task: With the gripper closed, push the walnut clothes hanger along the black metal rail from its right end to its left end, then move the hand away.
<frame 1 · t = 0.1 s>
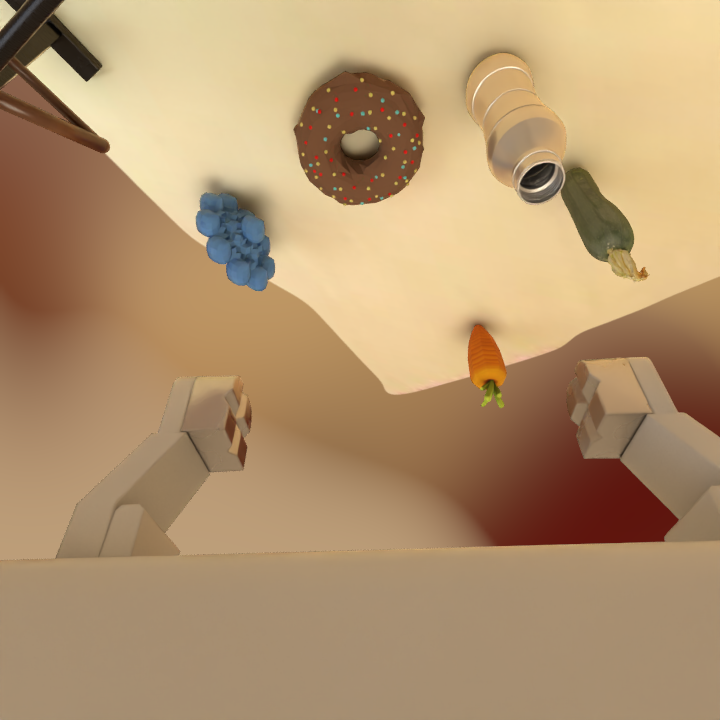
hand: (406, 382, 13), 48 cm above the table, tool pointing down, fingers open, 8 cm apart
donut: (360, 129, 56), on the table
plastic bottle: (493, 81, 52), on the table
grapes: (250, 207, 63), on the table
vegetable: (569, 167, 59), on the table
carrot: (477, 324, 78), on the table
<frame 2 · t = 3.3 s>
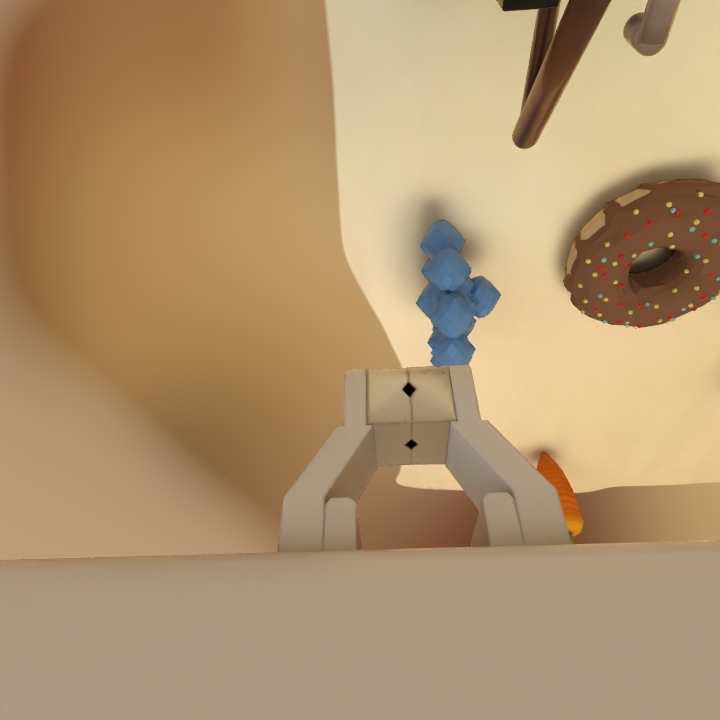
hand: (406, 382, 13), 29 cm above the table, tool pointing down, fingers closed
donut: (644, 237, 44), on the table
grapes: (449, 253, 45), on the table
carrot: (542, 452, 70), on the table
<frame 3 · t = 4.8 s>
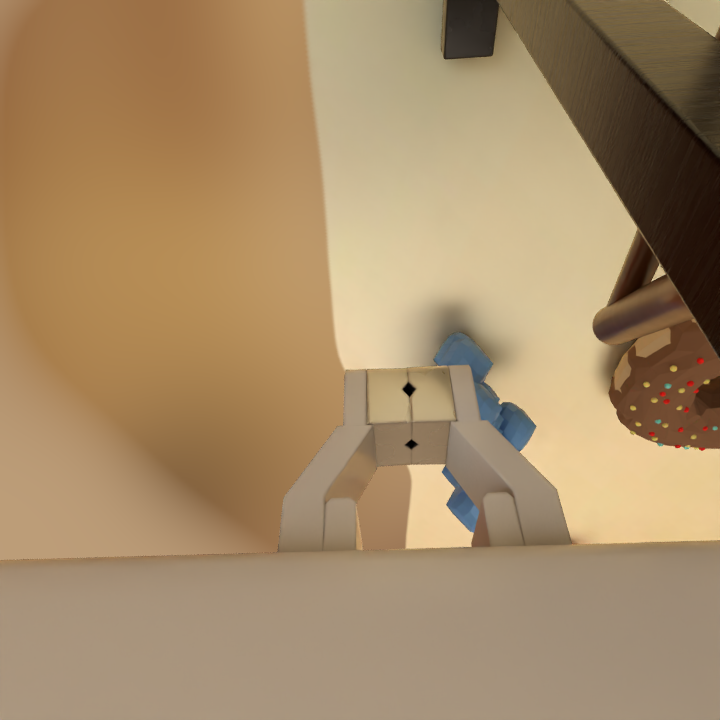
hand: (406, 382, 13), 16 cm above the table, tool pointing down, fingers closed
donut: (710, 343, 36), on the table
grapes: (468, 358, 37), on the table
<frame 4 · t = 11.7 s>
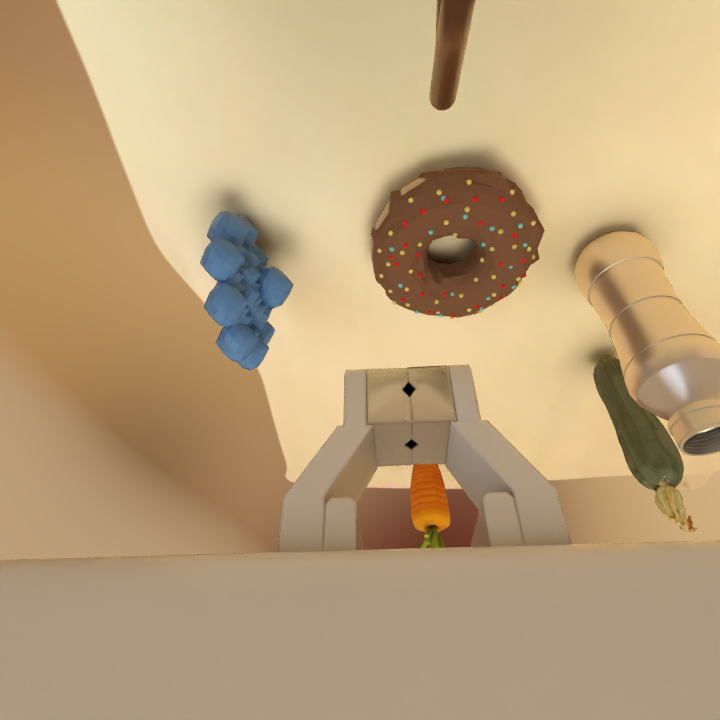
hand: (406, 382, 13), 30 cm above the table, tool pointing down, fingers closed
donut: (450, 227, 44), on the table
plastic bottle: (606, 250, 46), on the table
grapes: (261, 245, 45), on the table
vegetable: (604, 351, 56), on the table
carrot: (423, 447, 70), on the table
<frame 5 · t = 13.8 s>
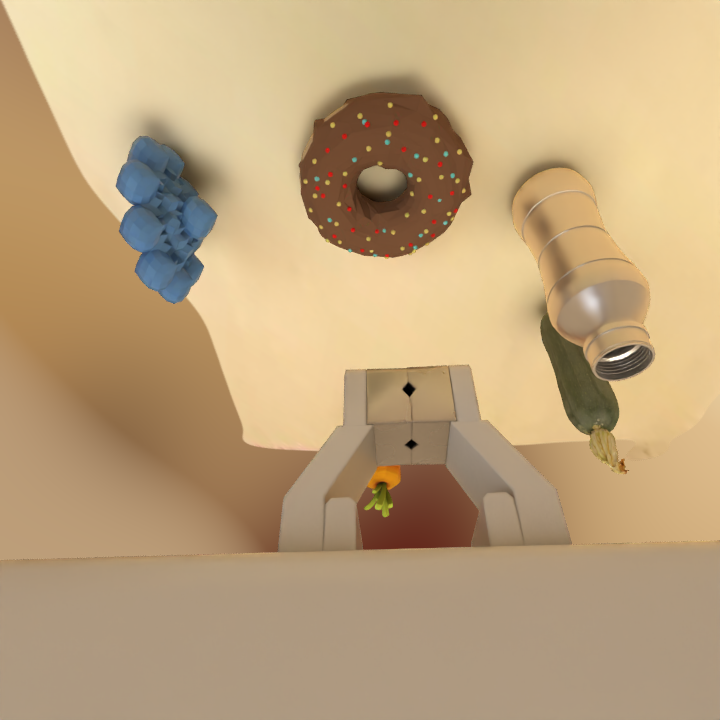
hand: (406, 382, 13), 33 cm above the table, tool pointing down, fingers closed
donut: (384, 163, 43), on the table
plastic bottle: (544, 191, 45), on the table
grapes: (193, 180, 45), on the table
vegetable: (552, 304, 55), on the table
carrot: (379, 407, 69), on the table
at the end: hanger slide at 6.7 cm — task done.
